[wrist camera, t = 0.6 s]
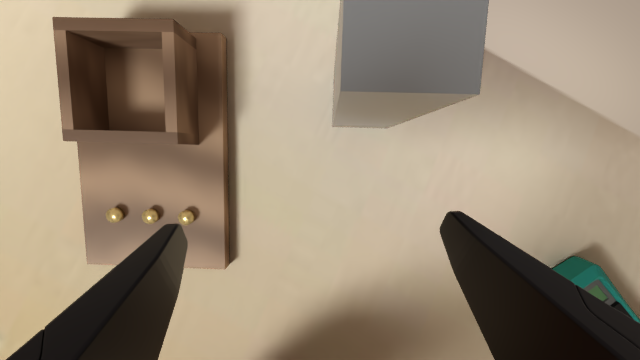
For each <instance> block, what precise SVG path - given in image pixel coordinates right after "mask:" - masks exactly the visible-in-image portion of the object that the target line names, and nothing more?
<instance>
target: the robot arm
mask: <svg viewBox="0 0 640 360" xmlns="http://www.w3.org/2000/svg"><path fill="white" fill-rule="evenodd" d="M440 234H441V237H442V240H443V243H444V246H445V249H446V252H447V254H448V257H449V260H450V263H451V266H452V269H453V271H454V274H455V276H456V278H457V280H458V283H459V285H460V287H461V289H462V291H463V293H464V295H465V297H466V300H467V302H468V304H469V306H470V308H471V310H472V312H473V315H474V317H475V319H476V321H477V323H478V325H479V327H480V330H481V332H482V334H483V336H484V338H485V340H486V342H487V344H488V347H489V349H490V351H491V353H492V355H493V357H494V359H495V360H640V323H639V322H637V321H635V320H634V319H632V318H630V317H628V316H627V315H625V314H623V313H622V312H620V311H618V310H616V309H615V308H613V307H611V306H610V305H608V304H607V303H605V302H603V301H602V300H600V299H599V298H597V297H595V296H594V295H592V294H590V293H589V292H587V291H586V290H584V289H583V288H581V287H579V286H578V285H575V284H574V283H573V282H571V281H570V280H568V279H567V278H565V277H564V276H562V275H560V274H559V273H557V272H556V271H554V270H553V269H551V268H549V267H548V266H546V265H545V264H543V263H541V262H540V261H538V260H537V259H535V258H534V257H532V256H530V255H529V254H527V253H526V252H524V251H523V250H521V249H519V248H518V247H516V246H515V245H513V244H512V243H510V242H508V241H507V240H505V239H504V238H502V237H500V236H499V235H497V234H496V233H494V232H493V231H491V230H489V229H488V228H486V227H485V226H483V225H482V224H480V223H478V222H477V221H475V220H474V219H472V218H470V217H469V216H467V215H466V214H464V213H463V212H460V211H450V212H448V213H447V214H446V216H445V218H444V220H443V222H442V224H441V226H440ZM187 248H188V241H187V238H186V235H185V233H184V230H183V228H182V226H181V225H180V224H178V223H176V224H166V225H164V226H162V227H161V228H160V229H159V230H158V231H157V232H155V233H154V234H153V235H152V236H151V237H150V238H148V239H147V240H146V241H145V242H144V243H143V244H141V245H140V246H139V247H138V248H137V249H136V250H134V251H133V252H132V253H131V254H130V255H129V256H127V257H126V258H125V259H124V260H123V261H121V262H120V263H119V264H118V265H117V266H116V267H114V268H113V269H112V270H111V271H110V272H109V273H107V274H106V275H105V276H104V277H103V278H102V279H100V280H99V281H98V282H97V283H96V284H95V285H93V286H92V287H91V288H90V289H89V290H88V291H86V292H85V293H84V294H83V295H82V296H81V297H79V298H78V299H77V300H76V301H75V302H73V303H72V304H71V305H70V306H69V307H68V308H66V309H65V310H64V311H63V312H62V313H61V314H59V315H58V316H57V317H56V318H55V319H54V320H52V321H51V322H50V323H49V324H48V325H47V326H46V327H45V330H44V329H43V330H41V331H39V332H38V333H37V334H36V335H35V336H33V337H32V338H31V339H30V340H29V341H28V342H26V343H25V344H24V345H23V346H22V347H21V348H19V349H18V350H17V351H16V352H14V353H13V354H12V355H11V356H10V357H8V358H7V359H6V360H158V357H159V354H160V351H161V348H162V345H163V341H164V338H165V335H166V332H167V329H168V326H169V322H170V319H171V316H172V313H173V310H174V307H175V303H176V300H177V297H178V293H179V289H180V284H181V279H182V274H183V269H184V263H185V258H186V253H187Z"/></svg>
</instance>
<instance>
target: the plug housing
mask: <svg viewBox="0 0 640 360" xmlns="http://www.w3.org/2000/svg"><path fill="white" fill-rule="evenodd" d="M488 3H489V0H340V10H339V22H338V33H337V44H336V55H335V67H334V91H333V121H332V127H359V128H389V127H392V126H394V125H397V124H400V123H403V122H405V121H408V120H411V119H414V118H416V117H419V116H422V115H425V114H427V113H430V112H433V111H436V110H438V109H441V108H444V107H446V106H449V105H452V104H455V103H457V102H460V101H463V100H466V99H468V98H471V97H474V96H477V95H479V94H480V86H481V76H482V65H483V55H484V44H485V34H486V23H487V13H488Z"/></svg>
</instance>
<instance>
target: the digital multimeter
mask: <svg viewBox="0 0 640 360" xmlns="http://www.w3.org/2000/svg"><path fill="white" fill-rule="evenodd" d="M553 270H554V271H556V272H557V273H559V274H560V275H562V276H564V277H565V278H567V279H568V280H570V281H571V282H573V283H574V284H575V285H578V286H579V287H581V288H583V289H584V290H586V291H587V292H589V293H590V294H592V295H594V296H595V297H597V298H599V299H600V300H602V301H603V302H605V303H607V304H608V305H610V306H611V307H613V308H615V309H616V310H618V311H620V312H622V313H623V314H625V315H627V316H628V317H630V318H632V319H634V320H635V321H637V322H639V323H640V319H639V318H638V317H637V316H636V314H635V313H634V312H633V310H632V309H631V308H630V307H629V305H628V304H627V303H626V302H625V300H624V299H623V297H622V296H621V295H620V293H619V292H618V291H617V289H616V288H615V286H614V285H613V284H612V282H611V281H610V280H609V278H608V277H607V275H606V274H605V273H604V271H603V270H602V268H601V267H600V266H598V265H596V264H594V263H592V262H589V261H587V260H585V259H582V258H580V257H578V256H573V257H571V258H569V259H567V260H566V261H564V262H563V263H561V264H559V265H558V266H556V267H555V268H553Z"/></svg>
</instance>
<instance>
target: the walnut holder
mask: <svg viewBox="0 0 640 360" xmlns="http://www.w3.org/2000/svg"><path fill="white" fill-rule="evenodd" d="M53 29H54V41H55V52H56V64H57V75H58V87H59V98H60V110H61V121H62V133H63V141H77V145H78V157H79V170H80V182H81V194H82V207H83V219H84V231H85V244H86V256H87V264H101V265H118V264H119V263H120V262H121V261H123V260H124V259H125V258H126V257H127V256H129V255H130V254H131V253H132V252H133V251H134V250H136V249H137V248H138V247H139V246H140V245H141V244H143V243H144V242H145V241H146V240H147V239H148V238H150V237H151V236H152V235H153V234H154V233H155V232H157V231H158V230H159V229H160V228H161V227H162V226H164V225H166V224H176V223H178V224H180V225H181V226H182V228H183V230H184V233H185V235H186V238H187V241H188V248H187V253H186V258H185V263H184V268H203V269H226V268H227V266H228V265H229V199H228V126H227V52H226V38H225V37H224V36H223V34H222V33H190V32H188V31H187V30H185V29H184V28H183V27H182V26H181V25H179V24H178V23H177V22H176V21H175V20H174V19H133V18H71V17H53Z"/></svg>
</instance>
